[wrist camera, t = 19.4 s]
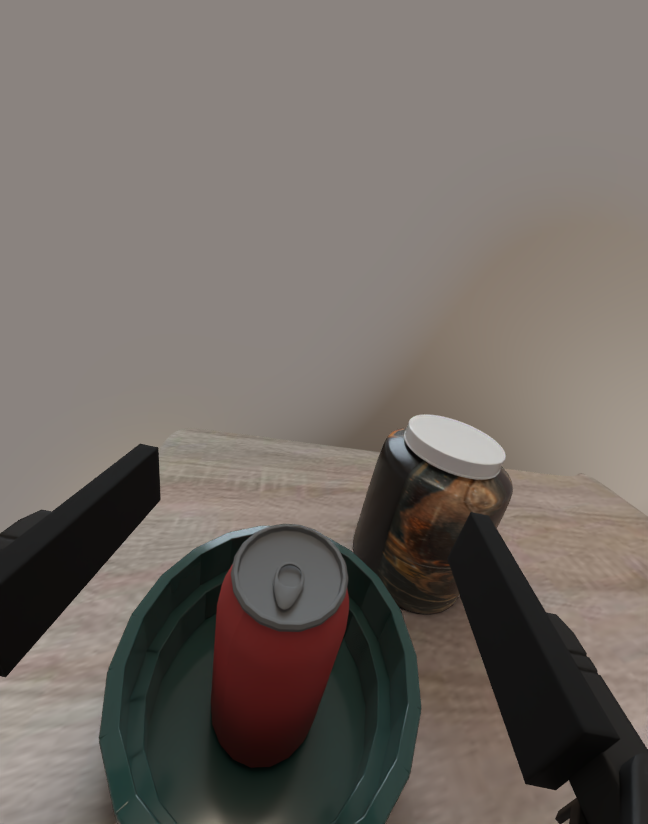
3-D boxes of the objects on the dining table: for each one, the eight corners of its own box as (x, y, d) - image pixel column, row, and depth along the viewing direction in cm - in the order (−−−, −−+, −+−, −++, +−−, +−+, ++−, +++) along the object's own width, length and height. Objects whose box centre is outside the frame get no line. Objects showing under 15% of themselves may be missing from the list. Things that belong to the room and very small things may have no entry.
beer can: (189, 760, 16) (191, 624, 11) (232, 631, 22) (245, 505, 17) (309, 784, 16) (362, 658, 11) (320, 648, 22) (357, 528, 17)
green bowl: (439, 800, 17) (489, 744, 14) (90, 1108, 10) (51, 1119, 7) (321, 564, 29) (335, 510, 27) (129, 621, 22) (121, 554, 19)
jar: (329, 535, 33) (361, 412, 27) (400, 506, 40) (438, 402, 34) (412, 640, 25) (485, 495, 19) (483, 580, 31) (554, 460, 25)
